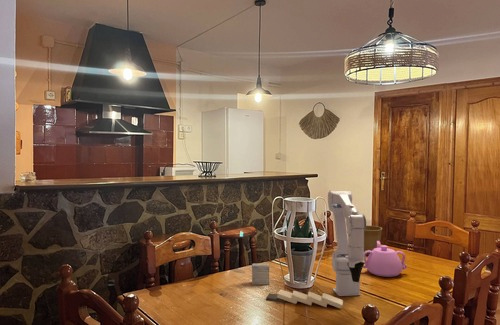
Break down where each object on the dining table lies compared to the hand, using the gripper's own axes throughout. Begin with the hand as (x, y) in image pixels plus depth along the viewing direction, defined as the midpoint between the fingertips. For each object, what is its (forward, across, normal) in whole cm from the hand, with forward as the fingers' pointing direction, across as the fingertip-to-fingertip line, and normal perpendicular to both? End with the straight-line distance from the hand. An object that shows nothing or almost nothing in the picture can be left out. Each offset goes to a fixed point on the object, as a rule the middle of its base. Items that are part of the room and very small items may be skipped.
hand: (355, 281), depth 138 cm
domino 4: (+10, +2, -11) cm, 15 cm away
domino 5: (+10, +1, -5) cm, 11 cm away
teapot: (+11, -52, +1) cm, 53 cm away
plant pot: (+11, -83, -12) cm, 85 cm away
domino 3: (+10, +3, -16) cm, 19 cm away
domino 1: (+10, +6, -26) cm, 29 cm away
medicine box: (+11, -7, -45) cm, 47 cm away
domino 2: (+10, +5, -22) cm, 24 cm away
